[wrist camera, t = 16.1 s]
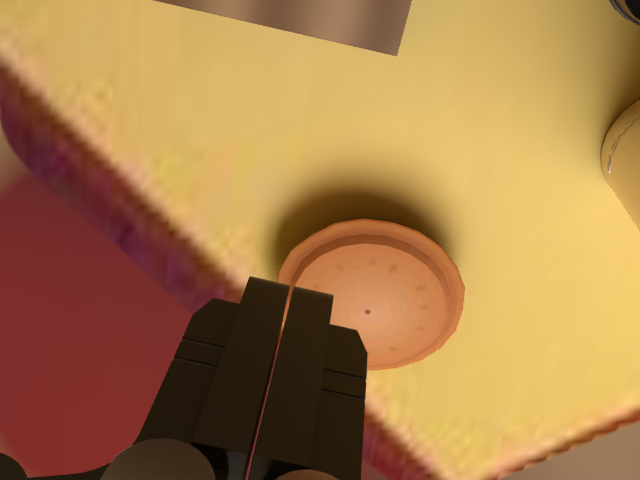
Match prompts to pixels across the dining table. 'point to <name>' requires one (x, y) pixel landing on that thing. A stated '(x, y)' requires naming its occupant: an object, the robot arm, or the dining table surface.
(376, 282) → the pie
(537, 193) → the dining table surface
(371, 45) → the socket block
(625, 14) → the french press
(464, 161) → the dining table surface
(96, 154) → the dining table surface
